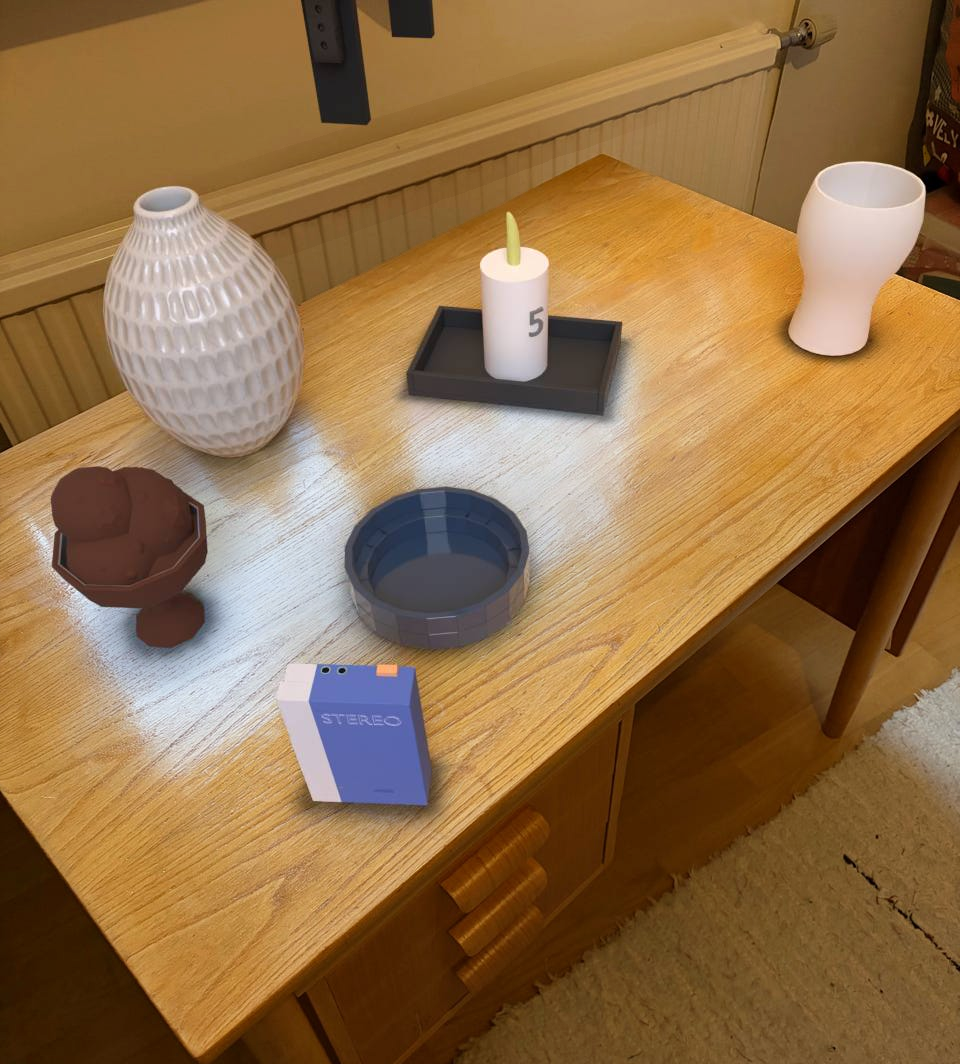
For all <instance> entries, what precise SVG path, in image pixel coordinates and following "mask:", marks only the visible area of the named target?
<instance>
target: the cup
mask: <svg viewBox="0 0 960 1064" xmlns="http://www.w3.org/2000/svg"><path fill="white" fill-rule="evenodd" d="M926 193H927V191H926V185H925V184H924V182H923V180H922V179H921V178H920V177H918V176H917V175H916V174H914V173H913V172H911V171H909V170H906V169H904V168H903V167H899V166H896V165H894V164H893V165H892V164H890V163H889V164H888V163H883V162H877V161H846V162H842V163H836V164H833V165H831V166H828V167H826V168H824V169H823V170H821V171H819V172H818V173H817V175H816V176H815V178H814V180H813V182H812V184H811V186H810V188H809V190H808V192H807V194H806V196H805V199H804V201H803V202H802V204H801V209H800V214H799V218H798V222H797V228H796V240H797V241H796V242H797V255H798V260H799V263H800V266H801V270H802V274H803V283H802V290H801V291H802V292H801V297H800V300H799V301H798V303H797V306H796V308H795V311H794V313H793V314H792V317H791V320H790V323H789V325H788V329H787V330H788V332H787V333H788V336H789V338H790V340H792V342H793V343H794V344H795V345H797V346H798V347H800V348H801V349H803V350H806V351H808V352H810V353H814V354H819V355H822V356H832V357H833V356H836V357H837V356H845V355H850V354H853V353H855V352H858V351H860V350H861V349H862V348H864V347H865V346H866V343H867V342H868V338H869V332H870V327H871V318H872V309H873V306H874V304H875V303H876V300H877V298H878V295H879V294H880V291H881V290H882V288H883V287H884V285H885V284H886V283H887V282H888V281H890V279H891V278H892V277H894V275H895V274H896V273H898V271H899V270H900V269H901V267H902V265H903V264H904V262H905V261H906V259H907V258H908V257H909V255H910V253H911V252H912V250H913V249H914V248H915V245H916V243H917V240H918V237H919V235H920V231H921V228H922V226H923V223H924V215H925V206H926V205H925V204H926V195H927V194H926Z"/></svg>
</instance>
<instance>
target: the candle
mask: <svg viewBox="0 0 960 1064" xmlns="http://www.w3.org/2000/svg"><path fill="white" fill-rule="evenodd" d="M505 222H506V223H505V224H506V226H505V227H506V247H501V248H498V249H495V250H492V251H490V252H488V253H487V254H485V256H483V258H482V259H481V260H480V263H479V272H480V274H479V276H480V294H481V297H480V298H481V309H482V319H483V341H484V362H485V369H486V371H487V372H488V373H489V374H490V375H491V376H492V377H494V378H496V379H504V380H514V381H523V382H524V381H529V380H532V379H534V378H536V377H538V376H540V375H541V374H542V373H543V372H544V371H545V370H546V367H547V351H548V315H549V285H550V284H549V279H550V278H549V277H550V273H549V272H550V270H549V269H550V263H549V261H550V260H549V259H548V257H547V256H546V255H545V254H544V253H543V252H541V251H540V250H537V249H536V248H532V247H526V246H521V238H520V232H519V227H518V224H517V221H516V219H515V217H514V215H513V214H512V213H511V212H510V211H507V212H506V215H505Z"/></svg>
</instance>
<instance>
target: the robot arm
mask: <svg viewBox="0 0 960 1064" xmlns="http://www.w3.org/2000/svg"><path fill="white" fill-rule="evenodd" d="M300 3H301V11H302V15H303V22H304V27H305V34H306V38H307V39H306V40H307V44H308V51H309V57H310V64H311V70H312V75H313V81H314V87H315V92H316V98H317V105H318V111H319V115H320V116H319V117H320V123H321V124H332V125H333V124H334V125H335V124H336V125H353V126H354V125H355V126H368V125H369V123H370V122H371V121H372V116H371V109H370V101H369V92H368V85H367V76H366V69H365V62H364V53H363V45H362V38H361V29H360V21H359V14H358V6H357V5H358V4H357V0H300ZM387 3H388V12H389V24H390V30H391V38H405V39H407V38H408V39H409V38H410V39H433V38H434V36H435V35H436V34H435V33H436V32H435V20H434V19H435V18H434V5H433V4H434V3H433V0H387Z"/></svg>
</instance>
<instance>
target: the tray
mask: <svg viewBox="0 0 960 1064" xmlns="http://www.w3.org/2000/svg"><path fill="white" fill-rule="evenodd" d="M622 332H623V321H619V320H617V321H616V320H608V319H595V318H586V317H585V318H584V317H574V316H573V317H572V316H561V315H552V314H551V315H549V314H548V351H547V367H546V370H545V371H544V372H543V373H542V374H541V375H540V376H538V377H536V378H534V379H532V380H529V381H524V382H523V381H514V380H504V379H496V378H494V377H492V376H491V375H490V374H489V373H488V372H487V371H486V369H485V362H484V341H483V319H482V308H471V307H459V306H448V305H438V307H437V309H436V311H435V313H434V315H433V317H432V319H431V321H430V323H429V325H428V327H427V330H426V332H425V334H424V335H423V338H422V340H421V341H420V344H419V346H418V348H417V350H416V353H415V354H414V356H413V358H412V361H411V362H410V365H409V366H408V369H407V371H406V381H407V389H408V395H409V396H419V397H426V398H427V397H428V398H437V399H447V400H455V401H466V402H473V403H484V404H493V405H502V406H512V407H521V408H528V409H529V408H530V409H540V410H547V411H548V410H550V411H559V412H567V413H577V414H587V415H595V416H596V415H597V416H604V415H605V411H606V410H605V409H606V405H607V402H608V397H609V393H610V390H611V389H610V388H611V385H612V381H613V377H614V373H615V368H616V364H617V360H618V356H619V353H620V352H619V351H620V348H621V343H622Z"/></svg>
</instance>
